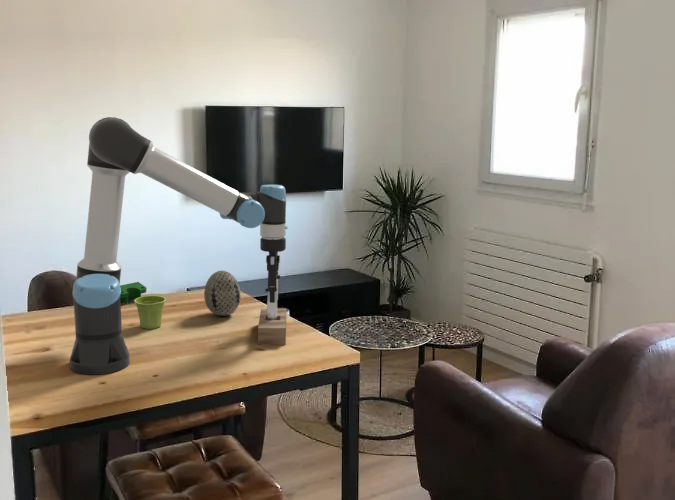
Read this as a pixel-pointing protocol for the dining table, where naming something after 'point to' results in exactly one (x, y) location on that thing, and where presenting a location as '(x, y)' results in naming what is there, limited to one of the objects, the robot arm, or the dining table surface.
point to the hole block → (272, 328)
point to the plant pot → (150, 311)
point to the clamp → (131, 291)
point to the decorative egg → (222, 293)
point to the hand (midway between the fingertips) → (272, 306)
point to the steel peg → (271, 315)
